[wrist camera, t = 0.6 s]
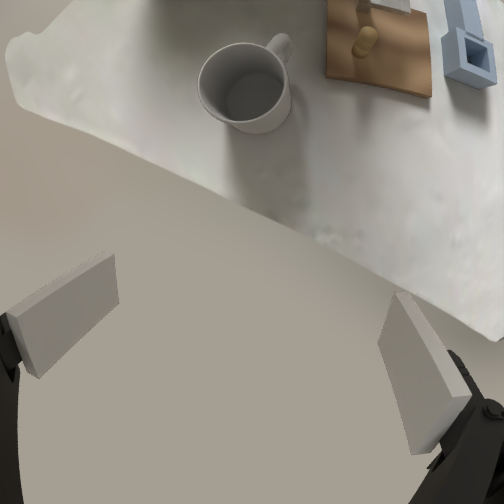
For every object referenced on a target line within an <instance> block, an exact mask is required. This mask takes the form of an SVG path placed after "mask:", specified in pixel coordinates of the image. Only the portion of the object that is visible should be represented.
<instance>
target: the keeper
mask: <svg viewBox="0 0 504 504" xmlns="http://www.w3.org/2000/svg"><path fill="white" fill-rule="evenodd" d="M371 8H374V9H379V10H383V11H387V12H391V13H395V14H399V15H402V16H406V17H408V16H409V15H410V14H411V9H410V1H409V0H355V11H360V12H365V13H369V12H370V10H371Z"/></svg>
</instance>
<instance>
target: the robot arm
mask: <svg viewBox="0 0 504 504" xmlns="http://www.w3.org/2000/svg"><path fill="white" fill-rule="evenodd" d="M118 304H119V298H118V289H117V280H116V270H115V257H114V254H112V253H106V252H101V253H99V254H98V255H96V256H94V257H92V258H91V259H89V260H87V261H86V262H84V263H82V264H80V265H79V266H77V267H75V268H74V269H72V270H70V271H68V272H67V273H65V274H63V275H62V276H60V277H58V278H57V279H55V280H54V281H52V282H51V283H49V284H47V285H45V286H44V287H42V288H41V289H40V290H38V291H36V292H35V293H33V294H31V295H30V296H28V297H27V298H25V299H24V300H22V301H21V302H19V303H18V304H16V305H14V306H13V307H12V308H10V309H8V310H7V311H6V312H5V313H4V314H2V315H1V316H0V504H24V502H23V496H22V488H21V481H20V471H19V458H18V434H17V418H18V392H19V379H20V368H19V367H18V364H19V363H20V362H21V361H23V363H24V366H25V368H26V371H27V372H28V373H29V374H31V375H33V376H35V377H36V378H38V379H40V378H41V377H42V376H43V375H44V374H45V373H46V372H47V371H48V370H49V369H50V368H51V367H52V366H53V365H54V364H55V363H56V362H57V361H58V360H59V359H60V358H61V357H62V356H63V355H64V354H65V353H66V352H68V350H70V349H71V348H72V347H73V346H74V345H75V344H76V343H77V342H78V341H79V340H80V339H81V338H82V337H83V336H84V335H85V334H86V333H87V332H89V331H90V330H91V329H92V328H93V327H94V326H95V325H96V324H97V323H98V322H99V321H100V320H102V319H103V318H104V317H105V316H106V315H107V314H108V313H109V312H110V311H111V310H113V308H115V307H116V306H117V305H118ZM378 345H379V348H380V351H381V354H382V357H383V360H384V363H385V365H386V369H387V372H388V375H389V378H390V381H391V384H392V387H393V391H394V394H395V397H396V400H397V404H398V407H399V411H400V414H401V418H402V421H403V425H404V429H405V432H406V435H407V440H408V444H409V448H410V452H411V455H418V454H425V453H431V452H432V450H433V449H434V448H435V447H436V445H437V444H438V443H439V442H440V445H441V448H442V451H441V452H440V454H439V455H438V456H437V457H436V458H435V459H434V460H433V461H432V462H431V464H430V465H429V466H428V467H427V469H430V470H429V472H428V474H427V475H426V477H425V479H424V480H423V482H422V484H421V485H420V487H419V488H418V490H417V491H416V493H415V494H414V496H413V498H412V499H411V501H410V502H409V503H408V504H504V408H503V406H502V405H501V404H500V403H498V402H496V401H495V400H492V399H484V397H483V395H482V394H481V392H480V390H479V389H478V387H477V385H476V383H475V382H474V380H473V378H472V377H471V376H470V375H469V374H470V373H469V372H468V370H467V368H465V366H464V363H463V362H462V360H461V359H460V357H458V356H457V355H456V354H455V353H454V352H453V351H451V350H446V349H445V347H444V345H443V344H442V342H441V341H440V339H439V337H438V336H437V334H436V333H435V331H434V330H433V328H432V327H431V325H430V324H429V322H428V321H427V319H426V318H425V316H424V315H423V313H422V312H421V310H420V309H419V308H418V306H417V304H416V303H415V302H414V300H413V299H412V297H411V296H410V294H409V293H401V292H394V293H393V297H392V300H391V304H390V307H389V310H388V314H387V317H386V320H385V323H384V326H383V329H382V332H381V335H380V338H379V341H378Z"/></svg>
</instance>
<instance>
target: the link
mask: <svg viewBox="0 0 504 504" xmlns="http://www.w3.org/2000/svg"><path fill="white" fill-rule="evenodd" d="M444 4H445V10H446V15H447V21H448V28H449V32H448V33H447V34H446V35H444V36H443V37H442V38H441V42H442V53H443V66H444V76H446V77H449V78H451V79H454V80H457V81H459V82H462V83H465V84H467V85H470V86H472V87H475V88H477V89H482V88H485V87H489V86H492V85H496V84H497V75H496V65H495V57H494V50H493V44H492V43H490V42H488V41H486V40H484V37H483V31H482V26H481V21H480V16H479V12H478V8H477V4H476V0H444ZM467 55H469V56H471V64H469V63H467Z"/></svg>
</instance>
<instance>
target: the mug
mask: <svg viewBox="0 0 504 504" xmlns="http://www.w3.org/2000/svg"><path fill="white" fill-rule="evenodd" d="M292 49H293V42H292V39H291V38H290V37H289V36H288V35H287V34H284V33H279V34H277V35H275V36H274V37H273V38H272V39H271V41H270V42H269V43H268V44H267V45H266V47H264V46H262V45H258V44H255V43H245V42H244V43H235V44H231V45H228V46H225V47H223V48H221V49H219V50H218V51H216V52H215V53H213V54H212V55H211V56H210V57H209V58H208V59H207V61H206V62H205V63H204V65H203V66H202V68H201V70H200V73H199V76H198V82H197V89H198V95H199V98H200V101H201V103H202V105H203V106H204V108H205V109H206V110H207V111H208V112H209V113H210V114H211V115H212V116H213V117H215V118H216V119H218V120H220V121H222V122H224V123H226V124H228V125H230V126H232V127H234V128H236V129H238V130H240V131H242V132H244V133H248V134H265V133H268V132H271V131H273V130H275V129H276V128H278V127H279V126H280V125H281V124H282V123H283V122H284V121H285V120H286V118H287V117H288V114H289V112H290V108H291V95H290V89H289V81H288V75H287V71H286V68H285V66H284V65H285V63H286V62H287V60H288V59H289V57H290V55H291V53H292Z"/></svg>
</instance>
